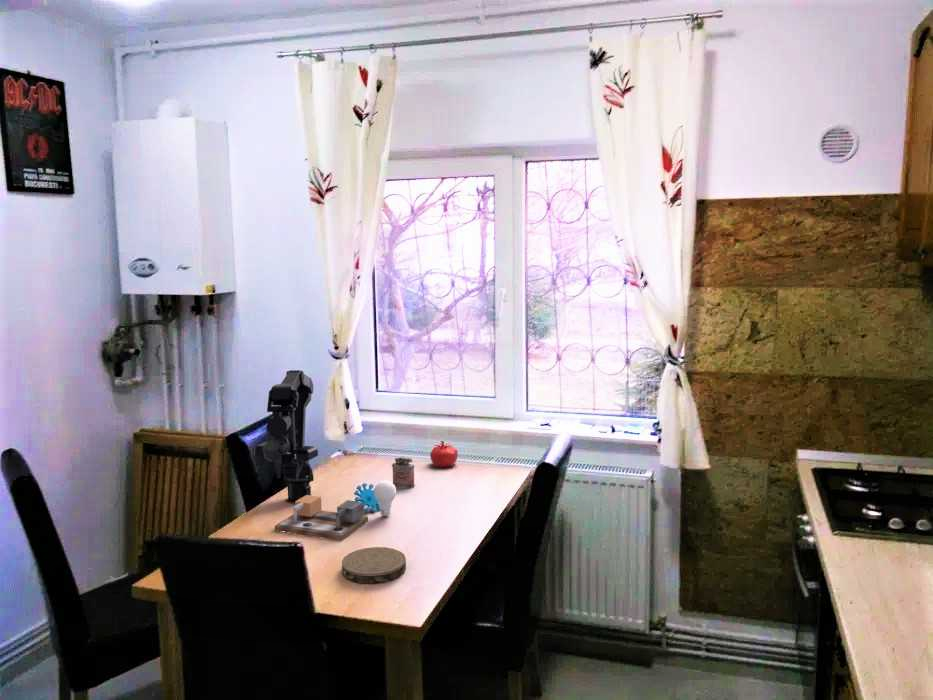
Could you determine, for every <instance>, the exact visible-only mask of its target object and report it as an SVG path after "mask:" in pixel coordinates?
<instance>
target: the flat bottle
mask: <svg viewBox="0 0 933 700" xmlns="http://www.w3.org/2000/svg"><path fill="white" fill-rule="evenodd" d="M394 461H395V462H393V463H391V467H392V483H393V484H394V486H396V487H395V488H401V487H402V488H403V489H414V488H415V487H416V484H415V464H413V458H412V457H411V458H410V457H405V456H401V457H399V456H396V457H395V458H394Z"/></svg>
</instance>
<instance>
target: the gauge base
mask: <svg viewBox="0 0 933 700" xmlns="http://www.w3.org/2000/svg"><path fill="white" fill-rule="evenodd" d="M366 522H367V523H368V522H369V517H368V516H366V515H365V516H364V507H363V502H360V501H355V500H349V499H347V500H345V501H344V502H342V503H341V504H339V505H337V507H336V512H335V511H330V510H329V511H328V510H320V511H319V512H317V513H316V514H314V515H312V516H311V517H309V516H302V515H297V522H296V523H294V515H293V514H292V515H290V516H289V517H287V518H286V519H284V520H282V521H280V522H278V523H276V525H274V531H275V530H278V531H277V532H280V531H285V532H284V533H287V532H290V533H289V534H293V533H296V534H295V535H300V534H301V536H306V537H307V536H308V537H313V536H315V537H314V538H320V537H322V538H321V539H329V540H334V541H340V540H341V542H343V541H344V540H345V539H347V538H348V537H350V536H351V535H353V534H354V533H355V532H356V531H357V530H359V529H360V528H361V527H363V526H364V525H366V524H367V523H366ZM365 523H366V524H365ZM362 525H363V526H362ZM358 528H359V529H358ZM350 534H351V535H350Z"/></svg>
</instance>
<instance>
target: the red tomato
mask: <svg viewBox="0 0 933 700" xmlns="http://www.w3.org/2000/svg"><path fill="white" fill-rule="evenodd" d="M458 454H459V453H458V450H457V449H456V448H455V447H454V446H453V445H452V444H450V443H449V442H448V443H446V444H445V441H444V440H441V441H440V443H439V444H436V445H434V447H433V449H432V450H431V452H430V455H429V456H430V460H431V462H432V464H433V466H434V467H436V468H447V467H452V466H454V465H455V463H457V460H458V456H459V455H458Z"/></svg>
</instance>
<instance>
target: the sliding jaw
mask: <svg viewBox="0 0 933 700" xmlns="http://www.w3.org/2000/svg"><path fill="white" fill-rule="evenodd" d="M311 495H312V494H311ZM311 495H306V496H304V497H302V498H300V499H299V500H297V501H295V503H294V504H295V505H294V506H293V507H292V513H293V514H292V515H294V523H296V522H297V515H302V516H309V517H311V516H312V515H314V514H316V513H317V512H319V511H320V510H322V496H318V495H312V496H311ZM322 511H323V510H322Z"/></svg>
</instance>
